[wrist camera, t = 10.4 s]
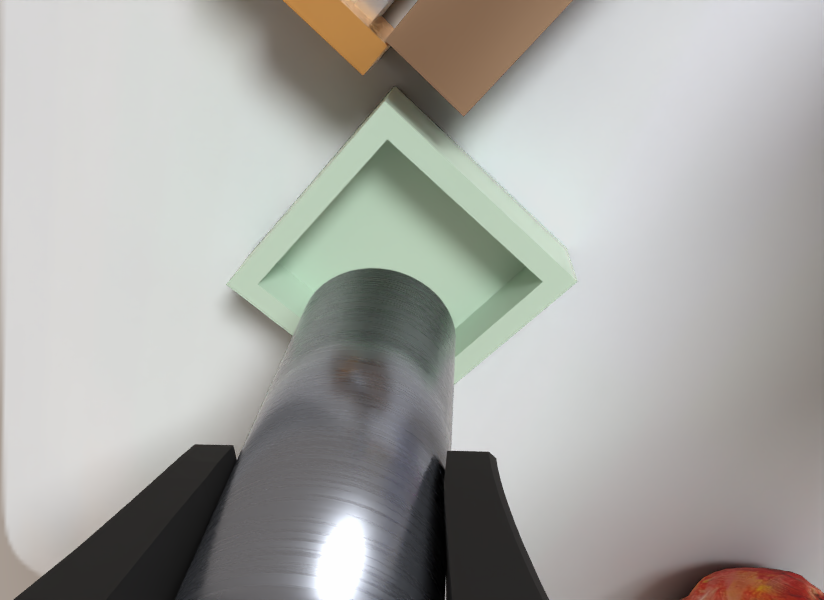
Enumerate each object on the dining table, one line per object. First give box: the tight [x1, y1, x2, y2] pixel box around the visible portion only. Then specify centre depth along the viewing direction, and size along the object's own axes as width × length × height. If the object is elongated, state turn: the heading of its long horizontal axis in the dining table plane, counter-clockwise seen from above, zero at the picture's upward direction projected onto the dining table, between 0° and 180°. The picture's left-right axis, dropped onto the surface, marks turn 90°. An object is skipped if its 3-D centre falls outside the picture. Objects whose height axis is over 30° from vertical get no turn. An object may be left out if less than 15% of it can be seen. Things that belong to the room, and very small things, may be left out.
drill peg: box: [175, 268, 456, 600], centre depth 10 cm, size 3×3×7 cm
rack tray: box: [226, 86, 577, 384], centre depth 17 cm, size 6×6×2 cm
